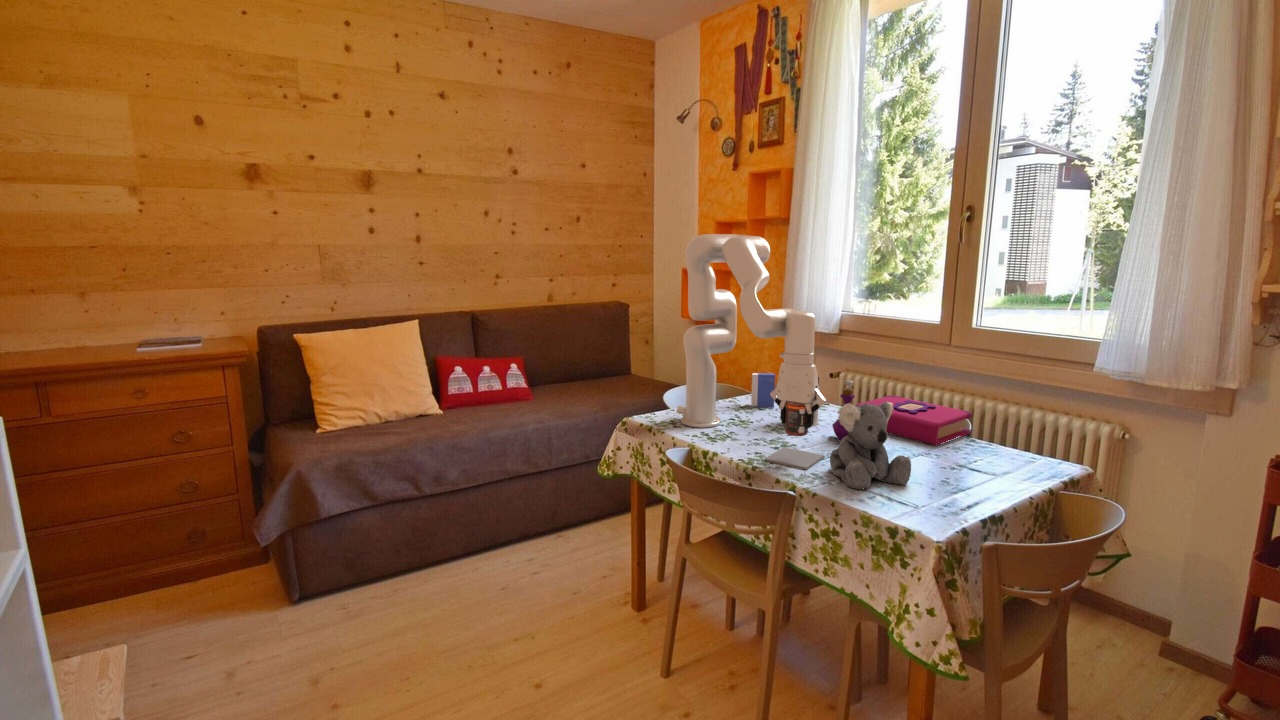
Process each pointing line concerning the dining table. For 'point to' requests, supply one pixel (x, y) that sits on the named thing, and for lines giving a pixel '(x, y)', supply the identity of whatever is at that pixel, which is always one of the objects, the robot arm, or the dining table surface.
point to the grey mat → (795, 458)
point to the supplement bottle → (795, 419)
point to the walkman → (762, 389)
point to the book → (923, 420)
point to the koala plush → (867, 448)
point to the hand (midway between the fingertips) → (796, 424)
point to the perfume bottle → (847, 398)
